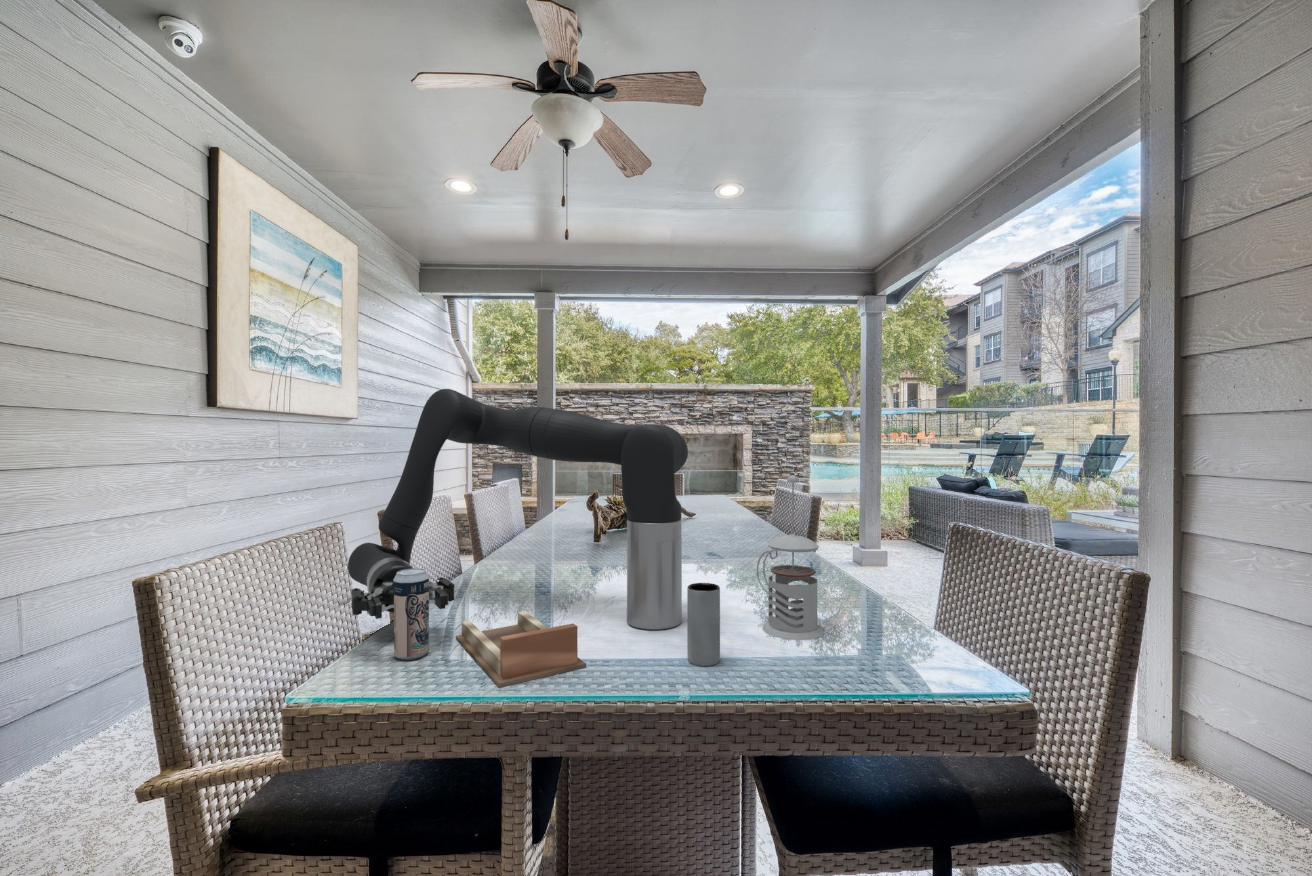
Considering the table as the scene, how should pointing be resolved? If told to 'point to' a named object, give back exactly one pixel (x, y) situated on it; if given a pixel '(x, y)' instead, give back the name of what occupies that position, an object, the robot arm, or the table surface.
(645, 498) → the robot arm
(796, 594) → the french press
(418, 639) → the beer can
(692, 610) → the gray cylindrical tube
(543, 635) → the keeper track
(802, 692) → the table surface
